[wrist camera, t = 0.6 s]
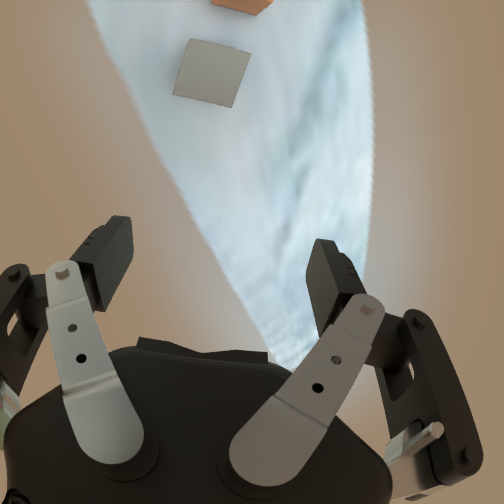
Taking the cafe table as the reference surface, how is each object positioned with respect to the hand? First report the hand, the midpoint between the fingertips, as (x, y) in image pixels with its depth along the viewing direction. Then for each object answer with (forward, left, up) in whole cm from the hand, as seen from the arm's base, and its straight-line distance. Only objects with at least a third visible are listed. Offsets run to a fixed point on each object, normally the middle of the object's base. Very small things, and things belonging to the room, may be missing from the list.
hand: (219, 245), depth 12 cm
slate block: (-4, +4, -24) cm, 25 cm away
